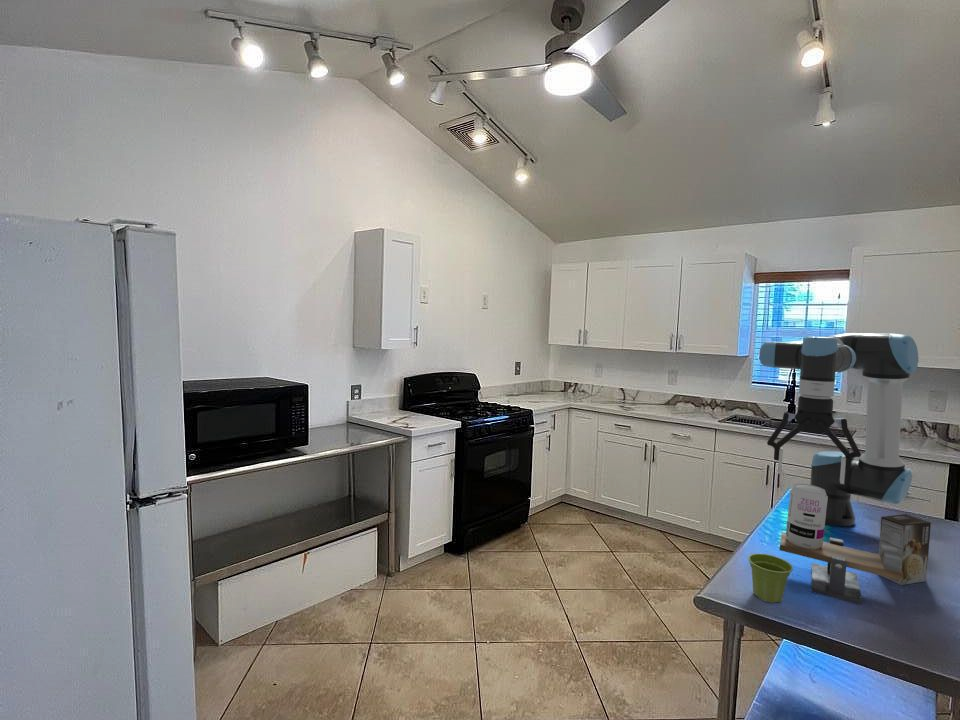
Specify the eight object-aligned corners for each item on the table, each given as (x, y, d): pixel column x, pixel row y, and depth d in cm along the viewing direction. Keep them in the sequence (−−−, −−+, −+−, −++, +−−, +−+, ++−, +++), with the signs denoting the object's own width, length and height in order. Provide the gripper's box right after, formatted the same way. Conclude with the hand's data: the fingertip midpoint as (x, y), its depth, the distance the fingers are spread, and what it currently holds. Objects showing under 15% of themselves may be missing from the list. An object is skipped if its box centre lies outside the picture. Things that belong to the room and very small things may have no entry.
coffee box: (901, 570, 139) (906, 513, 138) (927, 582, 133) (932, 522, 132) (875, 574, 137) (880, 515, 136) (901, 586, 131) (906, 525, 130)
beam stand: (811, 566, 140) (813, 533, 140) (856, 577, 135) (859, 542, 134) (811, 592, 126) (814, 555, 126) (861, 605, 121) (865, 566, 120)
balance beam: (781, 537, 141) (782, 521, 141) (896, 564, 128) (898, 547, 127) (779, 550, 133) (781, 533, 132) (902, 580, 119) (904, 562, 119)
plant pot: (790, 593, 126) (792, 559, 125) (790, 611, 117) (793, 575, 117) (747, 583, 130) (749, 550, 130) (745, 599, 122) (747, 564, 122)
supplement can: (808, 537, 138) (814, 483, 137) (829, 551, 130) (836, 494, 128) (778, 536, 138) (784, 482, 136) (798, 550, 130) (804, 493, 128)
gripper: (759, 393, 134) (754, 472, 136) (878, 403, 121) (871, 490, 123) (761, 390, 141) (756, 466, 142) (875, 399, 127) (868, 483, 129)
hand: (809, 477), depth 132 cm, fingers open, 13 cm apart
